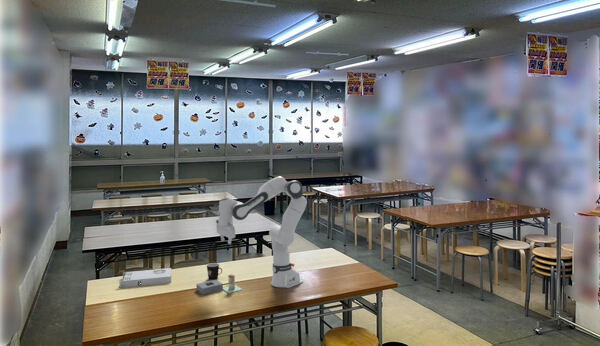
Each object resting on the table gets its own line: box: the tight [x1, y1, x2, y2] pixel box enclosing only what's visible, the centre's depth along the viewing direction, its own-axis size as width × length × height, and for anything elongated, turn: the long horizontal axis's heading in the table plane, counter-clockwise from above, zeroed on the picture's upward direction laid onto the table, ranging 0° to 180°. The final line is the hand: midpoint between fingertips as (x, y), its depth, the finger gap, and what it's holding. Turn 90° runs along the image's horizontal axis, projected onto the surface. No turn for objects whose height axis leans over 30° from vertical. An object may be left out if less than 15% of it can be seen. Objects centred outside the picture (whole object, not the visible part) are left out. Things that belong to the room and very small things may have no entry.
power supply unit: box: [118, 267, 172, 288], centre depth 288 cm, size 19×33×5 cm, turn 107°
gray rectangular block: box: [195, 279, 224, 295], centre depth 270 cm, size 14×10×4 cm
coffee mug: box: [206, 262, 223, 281], centre depth 290 cm, size 12×9×10 cm
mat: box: [222, 284, 243, 294], centre depth 271 cm, size 10×10×1 cm
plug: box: [227, 273, 236, 290], centre depth 270 cm, size 4×4×9 cm
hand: (226, 242), depth 276 cm, fingers open, 8 cm apart
